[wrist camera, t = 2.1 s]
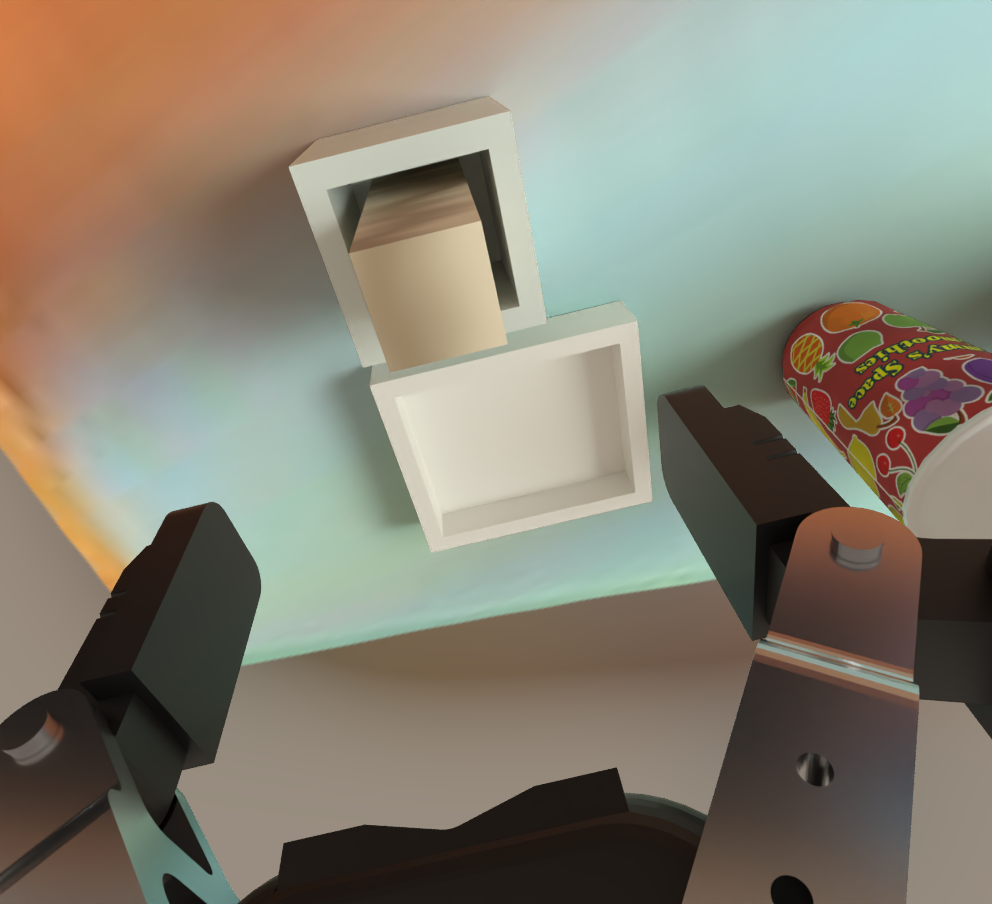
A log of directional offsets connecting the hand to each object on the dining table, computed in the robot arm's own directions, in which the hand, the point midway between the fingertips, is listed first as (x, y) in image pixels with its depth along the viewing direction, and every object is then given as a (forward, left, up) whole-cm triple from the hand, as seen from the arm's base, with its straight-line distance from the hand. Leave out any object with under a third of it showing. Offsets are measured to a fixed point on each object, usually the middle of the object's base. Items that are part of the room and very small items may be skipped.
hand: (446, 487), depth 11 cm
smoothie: (-21, +13, -23) cm, 34 cm away
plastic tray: (-2, +13, -23) cm, 26 cm away
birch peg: (0, 0, -22) cm, 22 cm away
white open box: (0, 0, -23) cm, 23 cm away
